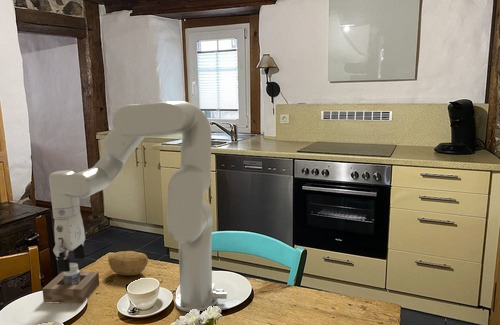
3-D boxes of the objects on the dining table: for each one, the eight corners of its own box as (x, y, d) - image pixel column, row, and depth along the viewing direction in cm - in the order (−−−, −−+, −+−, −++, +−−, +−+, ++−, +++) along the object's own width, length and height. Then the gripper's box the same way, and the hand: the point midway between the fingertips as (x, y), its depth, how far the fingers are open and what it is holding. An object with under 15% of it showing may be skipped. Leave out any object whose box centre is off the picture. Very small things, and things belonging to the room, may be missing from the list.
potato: (118, 266, 145) (117, 245, 143) (153, 270, 142) (152, 249, 140) (102, 278, 135) (101, 256, 134) (139, 282, 132) (138, 260, 131)
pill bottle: (74, 294, 122) (72, 269, 121) (61, 293, 123) (58, 267, 122) (84, 287, 127) (82, 262, 125) (71, 286, 128) (69, 261, 126)
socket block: (99, 284, 131) (98, 271, 130) (82, 303, 119) (81, 289, 118) (63, 284, 131) (62, 271, 131) (43, 302, 120) (42, 288, 119)
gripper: (64, 219, 112) (70, 276, 115) (91, 203, 129) (96, 253, 132) (38, 220, 112) (45, 277, 115) (68, 204, 129) (73, 253, 132)
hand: (72, 264), depth 124 cm, fingers open, 9 cm apart
